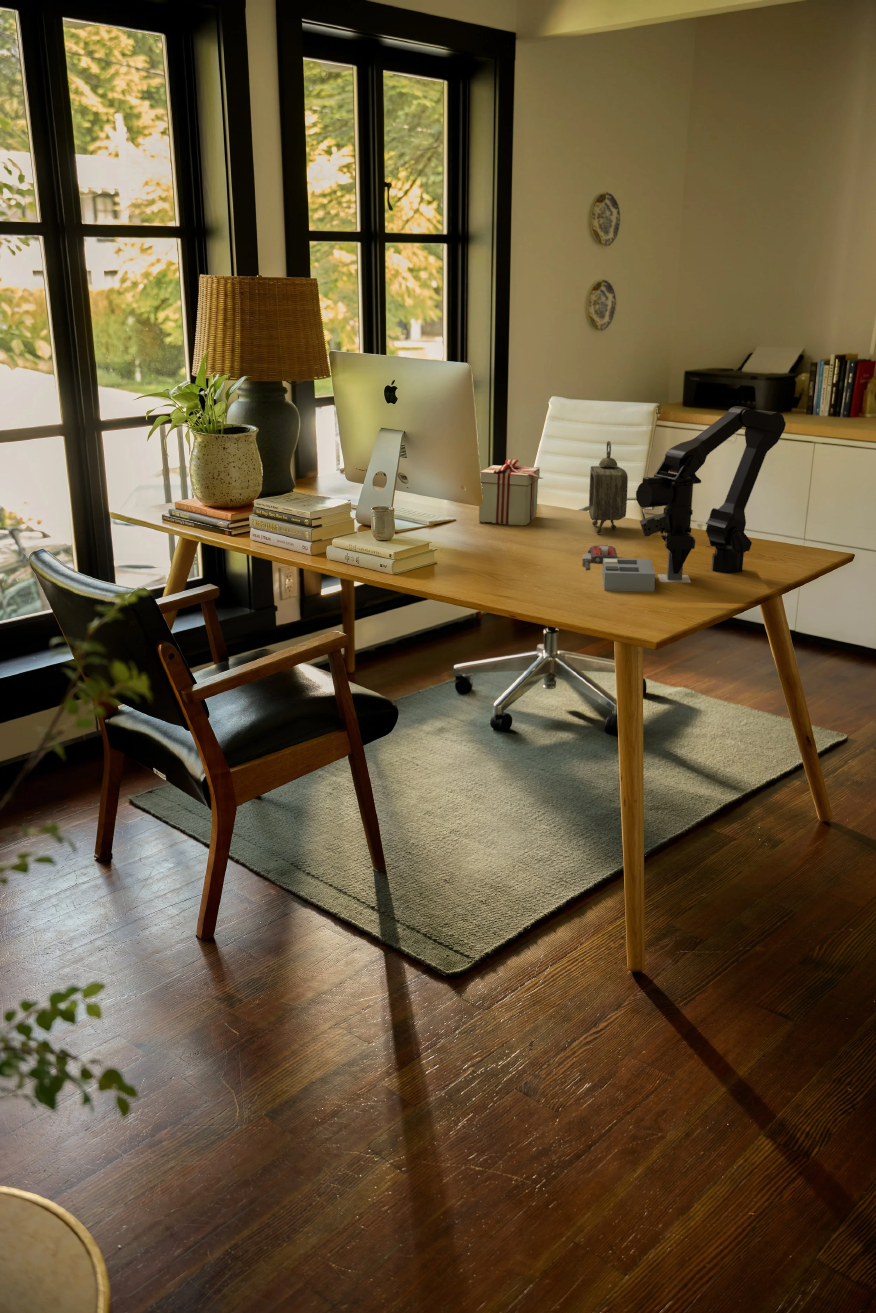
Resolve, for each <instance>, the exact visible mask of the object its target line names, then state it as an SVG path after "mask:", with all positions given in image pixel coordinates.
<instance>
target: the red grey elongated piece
mask: <svg viewBox="0 0 876 1313" xmlns="http://www.w3.org/2000/svg"><path fill="white" fill-rule="evenodd" d="M603 558H619V557H618V553H617V550H616V548H615V547H614V546H611V545H608V544H598V545H593V546H591V547H589V549H588V551H587V553H584V554H582V558H581V559H582V560H581V564H582V565H581V566H582V567H585V571H591V567H590V564H591V563H593V564H597V563H598V564H603Z"/></svg>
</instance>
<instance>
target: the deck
mask: <svg viewBox="0 0 876 1313" xmlns="http://www.w3.org/2000/svg"><path fill="white" fill-rule="evenodd" d="M657 576H658V580H659V582H660V583H690V584H691V583H692V581H691V579H690V576H689V574H682V580H668V579H667V573H664V574H663V573H659V574H658V573H657Z"/></svg>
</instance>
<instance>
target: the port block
mask: <svg viewBox="0 0 876 1313" xmlns="http://www.w3.org/2000/svg"><path fill="white" fill-rule="evenodd" d="M601 575H602V582H603V589H604V591H613V592H614V591H616V592H617V591H619V592H621V591H622V592H624V591H625V592H655V585H656V584H655V582H656V571H655V569H654V566H653V562H652V560H651V558H619V557H618V558H603V563H602V574H601Z"/></svg>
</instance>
